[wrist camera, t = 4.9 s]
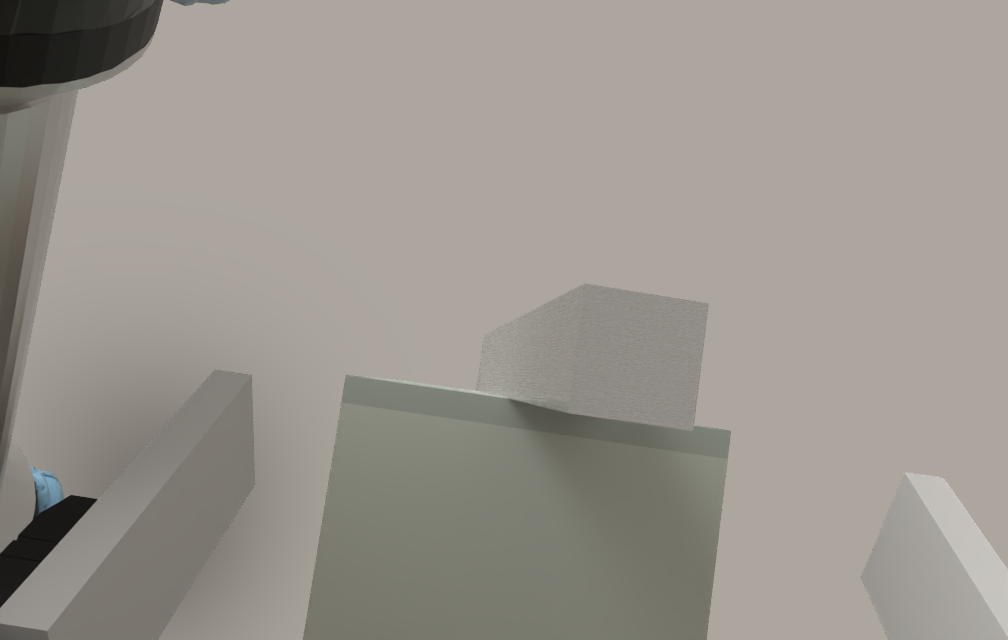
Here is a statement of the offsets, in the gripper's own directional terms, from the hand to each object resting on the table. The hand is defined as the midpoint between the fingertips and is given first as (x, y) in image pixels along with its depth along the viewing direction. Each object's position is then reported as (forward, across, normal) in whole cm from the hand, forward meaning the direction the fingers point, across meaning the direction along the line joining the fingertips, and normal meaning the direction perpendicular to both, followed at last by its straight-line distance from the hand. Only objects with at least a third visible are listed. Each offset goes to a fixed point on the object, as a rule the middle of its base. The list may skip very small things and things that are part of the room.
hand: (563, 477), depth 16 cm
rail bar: (+13, 0, -6) cm, 14 cm away
